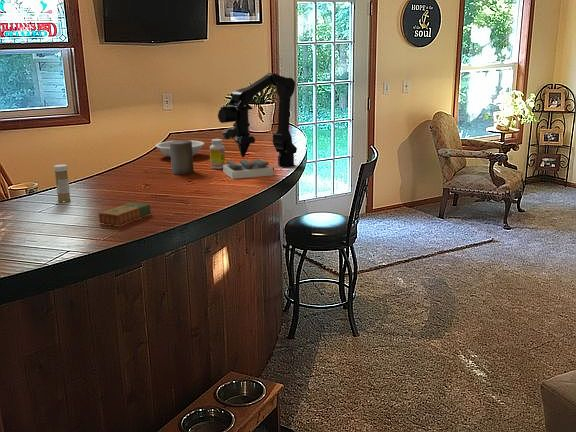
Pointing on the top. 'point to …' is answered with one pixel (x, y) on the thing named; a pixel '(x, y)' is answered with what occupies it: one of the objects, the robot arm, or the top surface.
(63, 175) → the sprinkles bottle
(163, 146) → the soup bowl
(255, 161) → the rocker
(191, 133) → the top surface
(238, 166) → the rocker
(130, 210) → the carton
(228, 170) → the light switch panel
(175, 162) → the pillar candle
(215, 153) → the supplement bottle
